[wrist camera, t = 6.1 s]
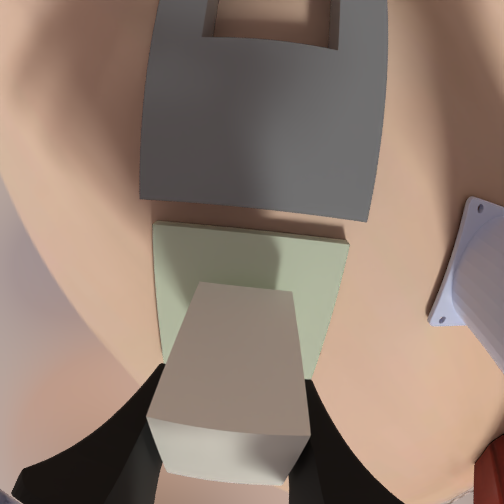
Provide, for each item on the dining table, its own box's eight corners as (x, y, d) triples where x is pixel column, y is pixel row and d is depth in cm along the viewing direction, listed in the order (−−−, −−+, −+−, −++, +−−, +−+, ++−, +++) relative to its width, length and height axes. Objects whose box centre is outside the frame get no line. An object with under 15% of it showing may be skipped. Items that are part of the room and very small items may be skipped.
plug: (292, 291, 12) (310, 435, 6) (278, 358, 14) (281, 485, 7) (199, 281, 12) (146, 416, 6) (199, 349, 14) (166, 472, 7)
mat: (346, 240, 13) (349, 244, 12) (309, 374, 16) (310, 381, 16) (156, 220, 13) (152, 224, 12) (166, 359, 16) (164, 365, 16)
